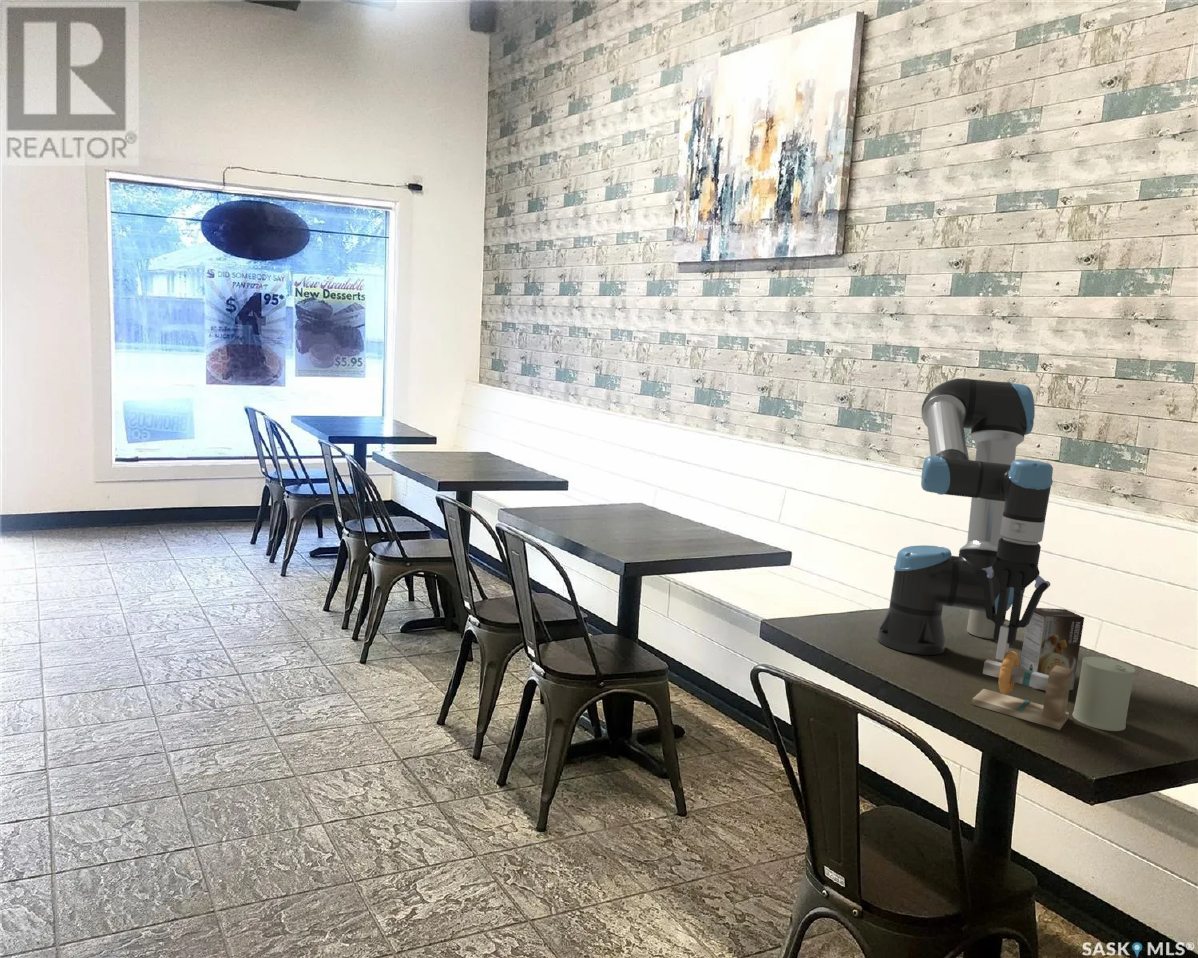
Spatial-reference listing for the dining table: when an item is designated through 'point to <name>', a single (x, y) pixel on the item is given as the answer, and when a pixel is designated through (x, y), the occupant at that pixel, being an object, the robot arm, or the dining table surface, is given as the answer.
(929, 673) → the dining table surface
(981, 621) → the travel mug
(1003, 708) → the pipe stand
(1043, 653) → the coffee box
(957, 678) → the dining table surface
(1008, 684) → the ring
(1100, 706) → the can
